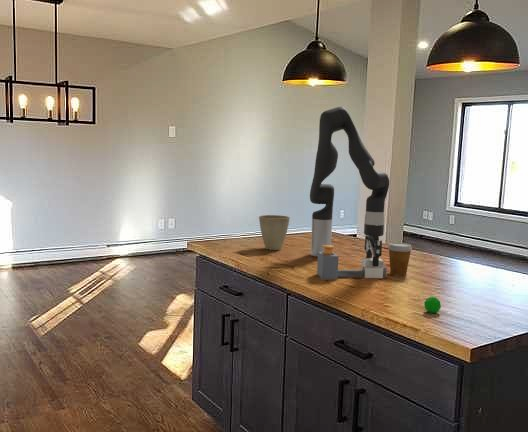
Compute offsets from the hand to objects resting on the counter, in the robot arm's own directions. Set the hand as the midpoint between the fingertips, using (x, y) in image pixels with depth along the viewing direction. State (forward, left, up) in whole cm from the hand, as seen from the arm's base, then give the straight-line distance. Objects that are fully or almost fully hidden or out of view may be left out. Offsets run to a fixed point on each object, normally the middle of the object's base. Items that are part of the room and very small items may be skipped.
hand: (372, 264), depth 221 cm
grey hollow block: (0, -18, -5) cm, 18 cm away
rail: (0, -5, -5) cm, 7 cm away
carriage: (0, 0, -5) cm, 5 cm away
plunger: (0, -18, +2) cm, 18 cm away
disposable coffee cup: (-6, +13, -5) cm, 16 cm away
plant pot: (-59, -31, -5) cm, 67 cm away
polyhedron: (+48, +4, -5) cm, 48 cm away
